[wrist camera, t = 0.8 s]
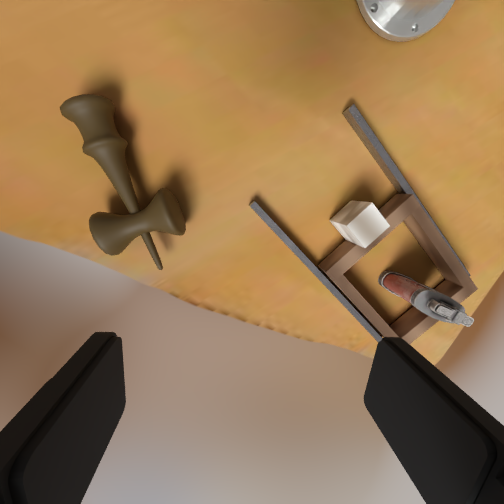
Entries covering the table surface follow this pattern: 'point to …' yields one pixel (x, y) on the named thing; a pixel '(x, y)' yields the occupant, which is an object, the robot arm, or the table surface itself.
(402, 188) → the guide rails
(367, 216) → the sliding frame
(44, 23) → the table surface
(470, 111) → the table surface
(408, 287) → the lighter
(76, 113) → the kendama
